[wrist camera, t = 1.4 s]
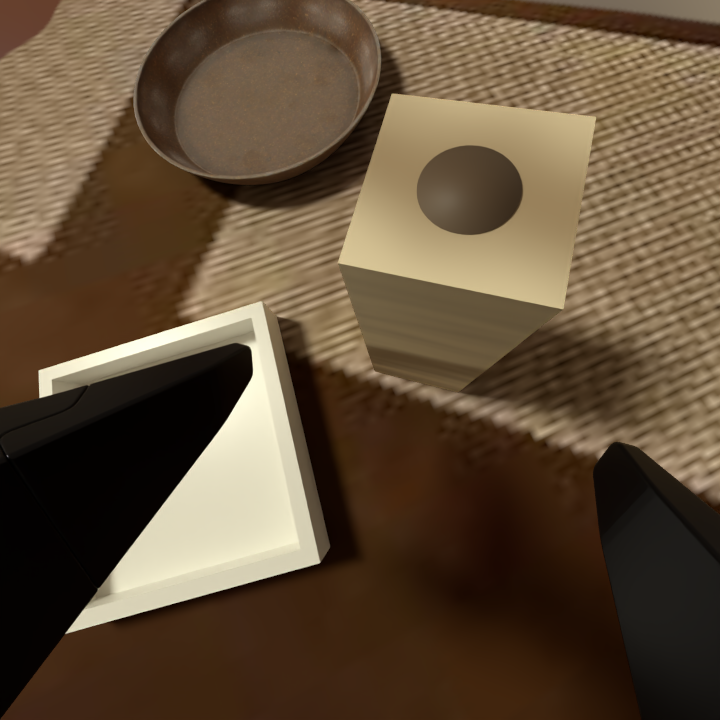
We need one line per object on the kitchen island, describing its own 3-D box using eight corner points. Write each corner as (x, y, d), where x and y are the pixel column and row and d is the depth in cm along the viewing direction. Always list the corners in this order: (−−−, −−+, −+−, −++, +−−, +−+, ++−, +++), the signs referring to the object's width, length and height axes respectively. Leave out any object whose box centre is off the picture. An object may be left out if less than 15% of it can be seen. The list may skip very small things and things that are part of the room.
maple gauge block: (458, 392, 20) (564, 308, 7) (374, 371, 21) (337, 261, 8) (475, 313, 21) (597, 115, 8) (395, 296, 22) (391, 91, 9)
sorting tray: (330, 546, 19) (320, 562, 16) (93, 612, 19) (48, 638, 17) (276, 316, 22) (261, 301, 20) (77, 378, 23) (38, 370, 20)
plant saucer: (360, 0, 28) (356, -52, 25) (405, 177, 24) (405, 139, 21) (158, 54, 29) (131, 11, 26) (166, 233, 25) (134, 205, 22)
